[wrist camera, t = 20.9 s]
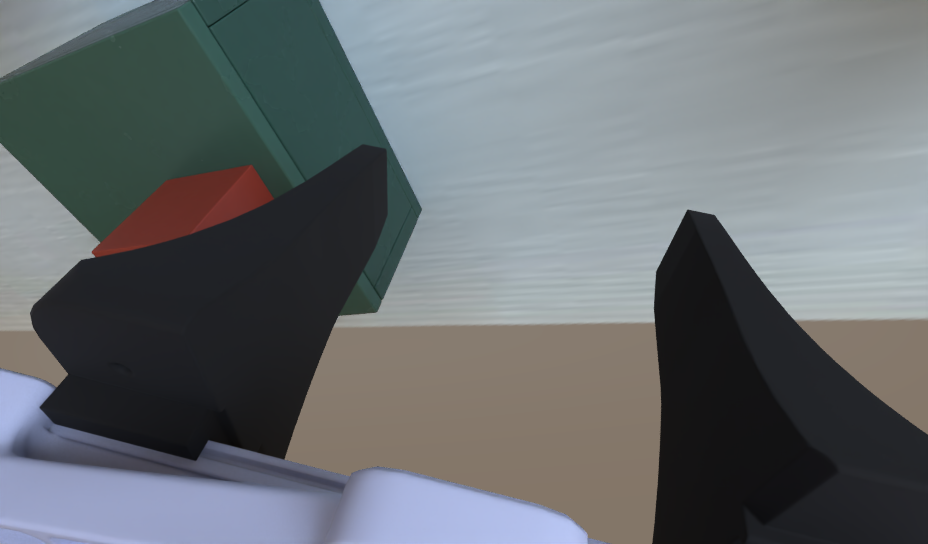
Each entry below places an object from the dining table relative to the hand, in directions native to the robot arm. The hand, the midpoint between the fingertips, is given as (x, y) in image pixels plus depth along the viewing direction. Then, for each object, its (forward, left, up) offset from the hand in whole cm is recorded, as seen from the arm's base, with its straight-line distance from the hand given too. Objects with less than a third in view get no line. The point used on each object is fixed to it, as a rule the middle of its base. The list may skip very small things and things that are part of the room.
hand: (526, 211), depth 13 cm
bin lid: (-10, -10, -4) cm, 15 cm away
